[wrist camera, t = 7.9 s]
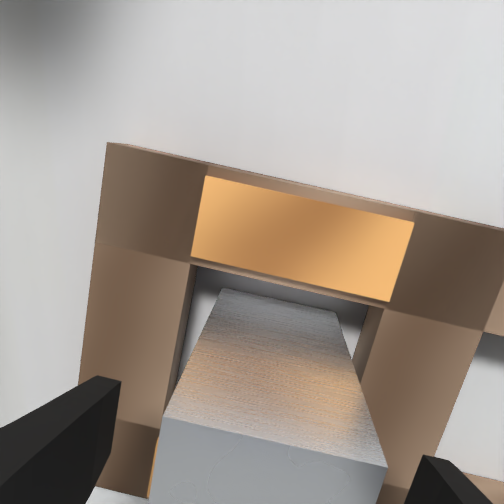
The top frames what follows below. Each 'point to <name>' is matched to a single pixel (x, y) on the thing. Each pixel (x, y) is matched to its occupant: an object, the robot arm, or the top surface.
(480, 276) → the socket plate
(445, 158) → the top surface
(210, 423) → the steel block
